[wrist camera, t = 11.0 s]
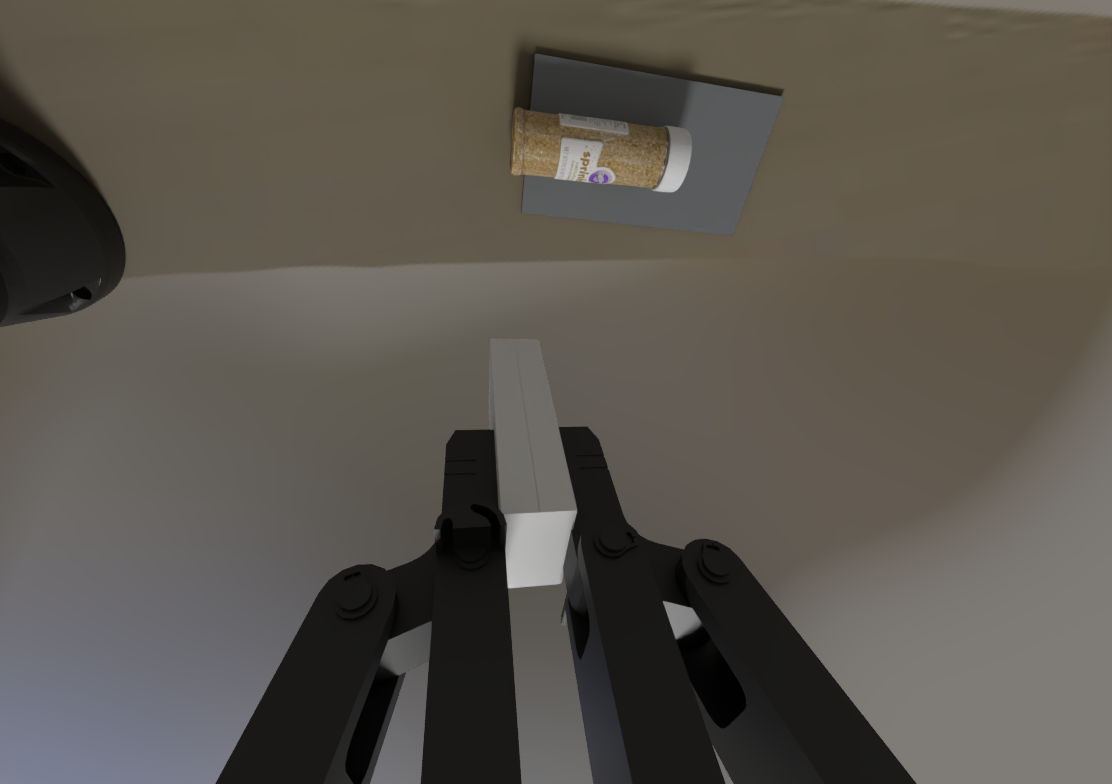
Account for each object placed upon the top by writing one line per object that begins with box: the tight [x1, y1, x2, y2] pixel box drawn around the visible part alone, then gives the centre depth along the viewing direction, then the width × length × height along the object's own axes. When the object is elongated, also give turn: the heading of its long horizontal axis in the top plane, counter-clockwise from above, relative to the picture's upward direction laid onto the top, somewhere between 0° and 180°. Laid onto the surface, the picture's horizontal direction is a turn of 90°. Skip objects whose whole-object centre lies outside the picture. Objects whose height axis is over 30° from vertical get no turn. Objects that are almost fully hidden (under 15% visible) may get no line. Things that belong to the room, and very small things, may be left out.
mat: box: [521, 53, 784, 236], centre depth 37 cm, size 20×11×1 cm, turn 82°
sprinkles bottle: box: [510, 107, 692, 192], centre depth 34 cm, size 5×5×13 cm
